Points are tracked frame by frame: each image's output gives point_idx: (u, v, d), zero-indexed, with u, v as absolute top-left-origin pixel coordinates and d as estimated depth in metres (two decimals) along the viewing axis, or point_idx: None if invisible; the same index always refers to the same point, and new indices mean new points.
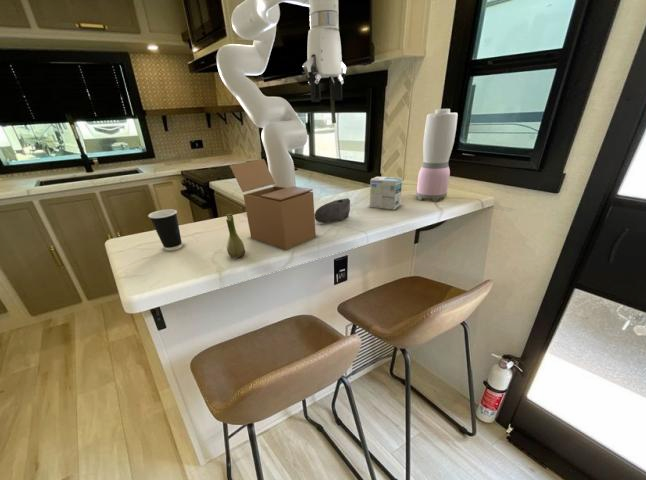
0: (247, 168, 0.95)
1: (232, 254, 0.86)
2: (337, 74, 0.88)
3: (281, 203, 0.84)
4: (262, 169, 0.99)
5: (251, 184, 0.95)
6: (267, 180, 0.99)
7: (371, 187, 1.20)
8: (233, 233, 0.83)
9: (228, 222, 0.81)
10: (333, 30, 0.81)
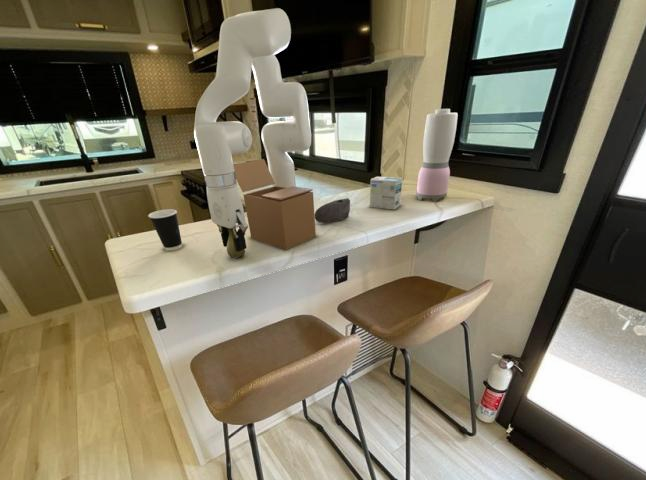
0: (247, 168, 0.95)
1: (232, 254, 0.86)
2: None
3: (281, 203, 0.84)
4: (262, 169, 0.99)
5: (251, 184, 0.95)
6: (267, 180, 0.99)
7: (371, 187, 1.20)
8: None
9: None
10: None
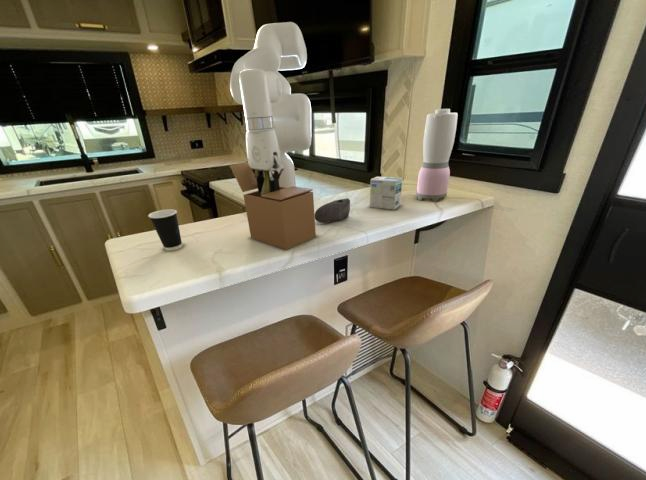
0: (247, 168, 0.95)
1: None
2: None
3: (281, 203, 0.84)
4: None
5: (251, 184, 0.95)
6: None
7: (371, 187, 1.20)
8: (268, 176, 0.90)
9: None
10: None
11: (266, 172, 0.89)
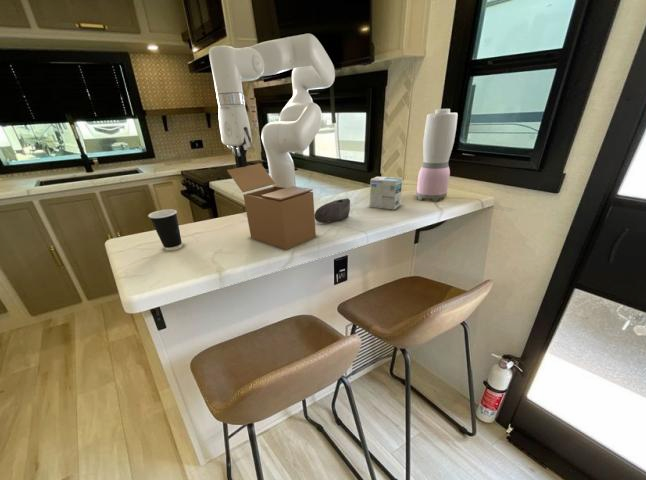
0: (245, 171, 0.97)
1: None
2: None
3: (281, 203, 0.84)
4: (260, 172, 1.00)
5: (250, 185, 0.96)
6: (266, 181, 1.00)
7: (371, 187, 1.20)
8: None
9: None
10: None
11: None
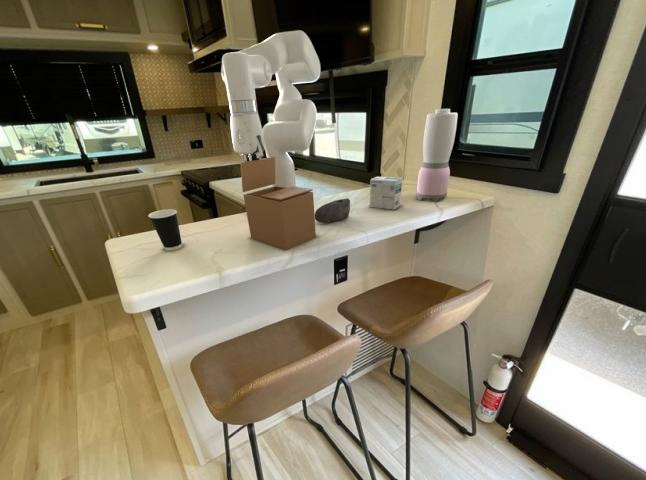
0: (256, 166, 0.92)
1: None
2: None
3: (281, 203, 0.84)
4: (269, 168, 0.96)
5: (253, 184, 0.95)
6: (269, 180, 0.99)
7: (371, 187, 1.20)
8: None
9: None
10: None
11: None
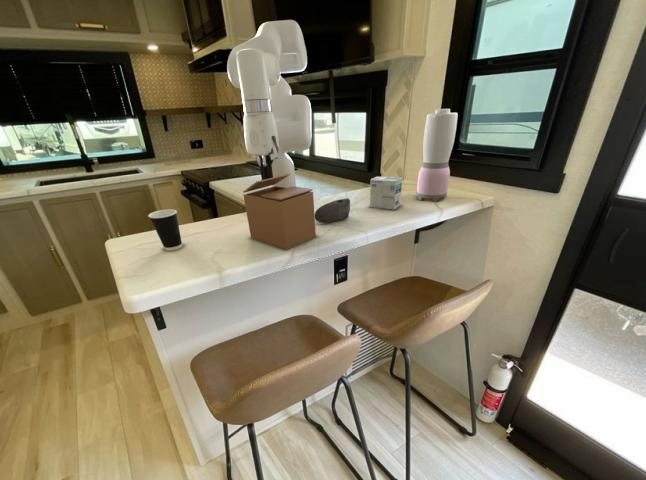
0: (268, 181, 0.92)
1: None
2: None
3: (281, 203, 0.84)
4: (278, 180, 0.96)
5: (256, 188, 0.95)
6: (272, 184, 0.99)
7: (371, 187, 1.20)
8: None
9: None
10: None
11: None
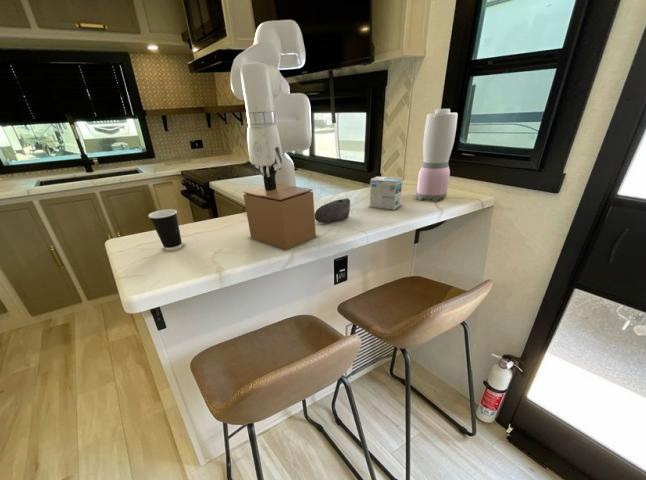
0: None
1: None
2: None
3: (281, 203, 0.84)
4: None
5: None
6: None
7: (371, 187, 1.20)
8: None
9: None
10: None
11: None
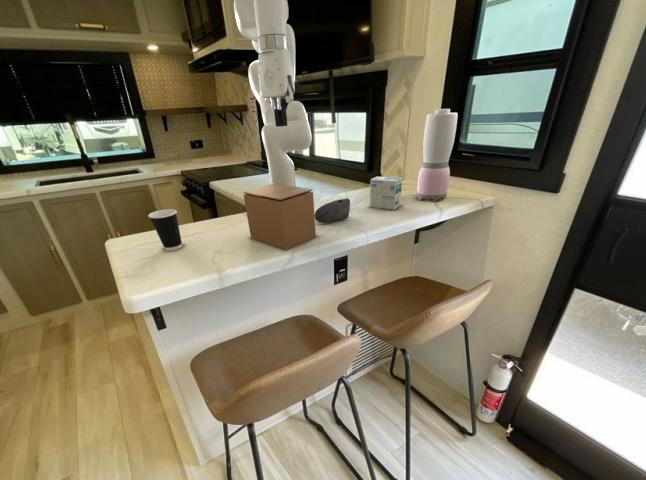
0: None
1: None
2: None
3: (281, 203, 0.84)
4: None
5: None
6: None
7: (371, 187, 1.20)
8: None
9: None
10: None
11: None
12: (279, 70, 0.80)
